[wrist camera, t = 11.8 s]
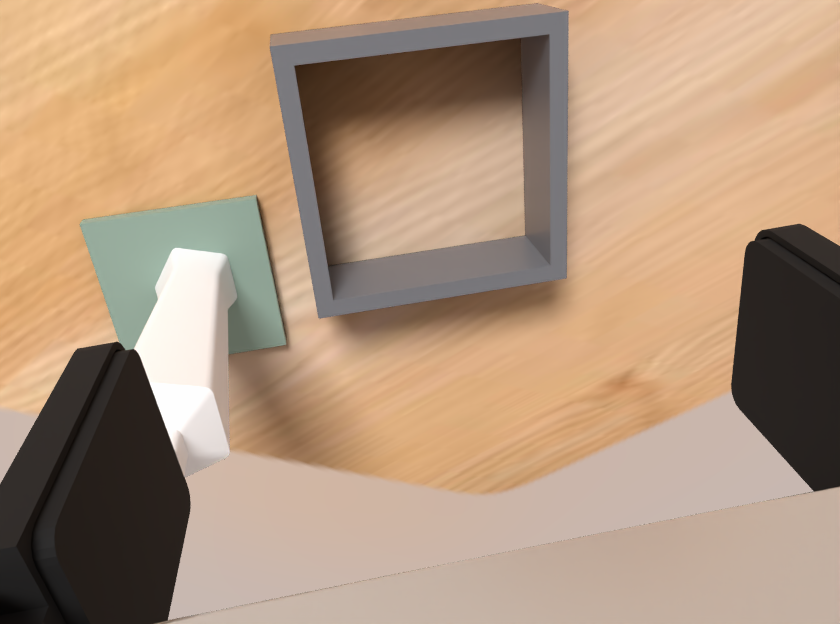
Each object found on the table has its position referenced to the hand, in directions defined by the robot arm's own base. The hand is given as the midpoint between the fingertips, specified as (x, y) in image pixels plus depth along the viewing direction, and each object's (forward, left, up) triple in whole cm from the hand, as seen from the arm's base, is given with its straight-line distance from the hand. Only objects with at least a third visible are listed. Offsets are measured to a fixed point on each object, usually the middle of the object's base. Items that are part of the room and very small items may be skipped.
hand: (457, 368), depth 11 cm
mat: (+9, +9, -25) cm, 27 cm away
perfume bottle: (+8, +8, -24) cm, 27 cm away
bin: (-3, +4, -25) cm, 25 cm away
